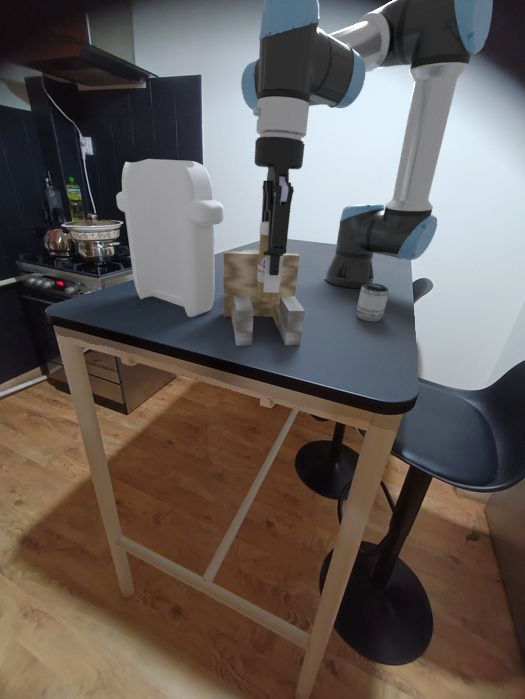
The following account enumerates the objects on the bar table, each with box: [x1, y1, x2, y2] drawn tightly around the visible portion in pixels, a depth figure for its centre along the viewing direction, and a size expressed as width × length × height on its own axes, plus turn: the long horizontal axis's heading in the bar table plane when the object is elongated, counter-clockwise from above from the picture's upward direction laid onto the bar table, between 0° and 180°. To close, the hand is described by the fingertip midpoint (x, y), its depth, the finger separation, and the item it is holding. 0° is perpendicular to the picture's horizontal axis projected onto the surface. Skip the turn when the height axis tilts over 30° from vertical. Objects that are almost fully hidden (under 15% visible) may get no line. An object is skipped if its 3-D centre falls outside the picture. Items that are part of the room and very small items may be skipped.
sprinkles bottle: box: [256, 222, 283, 302], centre depth 57 cm, size 5×5×13 cm
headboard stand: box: [222, 250, 306, 347], centre depth 64 cm, size 16×16×14 cm
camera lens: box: [356, 282, 390, 322], centre depth 75 cm, size 6×6×8 cm
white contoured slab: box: [115, 158, 225, 318], centre depth 70 cm, size 27×11×30 cm, turn 56°
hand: (268, 287), depth 59 cm, fingers closed on sprinkles bottle, 4 cm apart
